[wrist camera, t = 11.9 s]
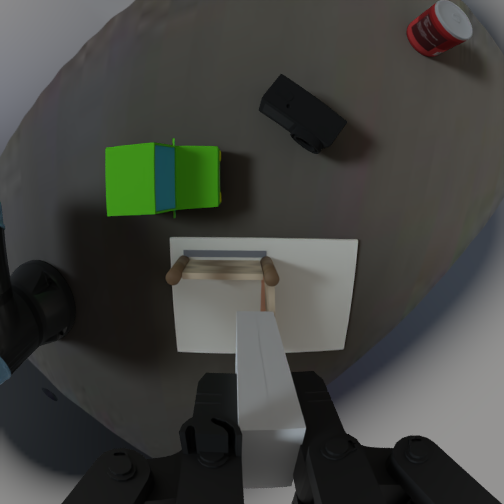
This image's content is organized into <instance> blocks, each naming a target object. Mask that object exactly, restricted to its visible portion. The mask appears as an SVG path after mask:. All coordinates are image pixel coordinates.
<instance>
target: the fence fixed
mask: <svg viewBox="0 0 504 504" xmlns="http://www.w3.org/2000/svg"><path fill="white" fill-rule="evenodd" d="M263 277H264V280H265V283H266V284H267V285H268V286H271V287H273V286H276V285H277V284H278V283H279V275H278V273H277V271H276V268H275V266H274V264H273V261H272V259H271V258H270V257H268V256H265V257H263V258H261V260H190V259H189V258H188V257H187V256H184V255H182V256H180V257H179V258H178V260H177V261H176V262H175V264H174V265H173V266H172V268H171V269H170V270H169V272H168V273H167V274H166V281H167V283H168V284H170V285H177V284H178V283H179V281H180V280H181V278H182V279H208V280H263Z"/></svg>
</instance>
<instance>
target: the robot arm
mask: <svg viewBox="0 0 504 504" xmlns="http://www.w3.org/2000/svg"><path fill="white" fill-rule="evenodd" d="M4 230H5V225H4V224H3V216H2V206H1V202H0V384H2V383H3V382H4V381H5V380H7V379H9V378H10V376H11V374H13V372H14V371H15V370H16V369H17V368H18V367H19V366H20V365H21V364H22V363H23V362H24V361H25V360H26V359H27V358H28V357H29V356H30V355H31V354H32V353H33V352H34V351H35V350H36V349H37V348H38V347H39V346H41V345H45V344H48V343H51V342H55V341H57V340H59V339H61V338H63V337H64V336H65V335H66V334H67V333H68V332H69V331H70V329H71V328H72V326H73V324H74V320H75V303H74V299H73V296H72V293H71V290H70V288H69V286H68V284H67V282H66V281H65V279H64V278H63V277H62V275H61V274H60V273H59V272H58V271H57V270H56V269H55V268H54V267H52V266H51V265H49V264H48V263H46V262H43V261H39V260H32V261H28V262H26V263H24V264H22V265H20V266H19V267H18V268H17V269H16V270H15V271H14V272H13V274H12V275H11V276H10V274H9V267H8V260H7V253H6V244H5V234H4ZM235 367H236V374H226V373H206V374H205V375H204V376H203V377H202V378H201V379H200V381H199V382H198V387H197V395H196V400H195V406H194V413H193V417H192V418H190V419H189V420H188V421H186V422H185V423H184V424H183V425H182V427H181V429H180V431H179V435H180V441H181V446H182V450H181V451H179V452H178V453H176V454H174V455H171V456H167V457H161V458H153V459H145V457H144V456H143V455H141V454H140V453H138V452H136V451H134V450H130V449H125V448H120V449H112V450H110V451H107V452H104V453H103V454H102V455H101V456H100V457H98V458H97V460H96V461H95V462H94V463H93V465H92V466H91V467H90V469H89V470H88V471H87V472H86V474H85V475H84V476H83V477H82V479H81V480H80V481H79V482H78V484H77V485H76V486H75V488H74V489H73V490H72V491H71V493H70V494H69V495H68V497H67V498H66V499H65V500H64V501H63V503H62V504H244V499H243V498H244V496H243V488H273V487H287V486H291V485H292V481H293V478H294V483H295V488H296V492H295V495H294V498H293V501H292V504H502V503H500V502H499V501H498V500H497V499H496V498H495V497H493V496H492V495H491V494H490V493H489V492H488V491H487V490H486V489H485V488H484V487H482V486H481V485H480V484H479V483H478V482H477V481H476V480H475V479H474V478H473V477H471V476H470V475H469V474H468V473H467V472H466V471H465V470H464V469H462V467H460V466H459V465H458V464H457V463H456V462H455V461H454V460H453V459H452V458H451V457H449V456H448V455H447V454H446V453H445V452H444V451H443V450H442V449H441V448H440V447H438V445H436V444H435V443H434V442H433V441H431V440H430V439H428V438H426V437H422V436H407V437H404V438H402V439H401V440H399V441H398V442H397V443H396V444H395V446H394V448H374V447H366V446H363V445H361V444H360V443H359V442H358V441H357V439H356V438H354V437H352V436H351V435H349V434H346V432H345V431H344V429H343V426H342V424H341V421H340V419H339V416H338V414H337V412H336V409H335V407H334V404H333V402H332V401H331V397H330V395H329V393H328V392H327V388H326V385H325V383H324V381H323V379H322V378H321V377H319V376H318V375H317V374H316V373H315V372H314V371H307V372H290V369H289V365H288V362H287V358H286V355H285V351H284V348H283V344H282V340H281V337H280V333H279V330H278V326H277V323H276V319H275V316H274V312H270V311H237V315H236V365H235Z"/></svg>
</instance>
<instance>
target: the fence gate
mask: <svg viewBox="0 0 504 504" xmlns="http://www.w3.org/2000/svg"><path fill="white" fill-rule="evenodd" d="M264 284H265V311H270V312H274V316H275V286H273V287H271V286H268V285H267V284H266V283H265V280H264Z"/></svg>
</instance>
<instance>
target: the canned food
mask: <svg viewBox="0 0 504 504" xmlns="http://www.w3.org/2000/svg"><path fill="white" fill-rule="evenodd" d="M472 34H473V30H472V26H471V23H470V21H469V19H468V17H467V16H466V15H465V13H464V12H463V11H462V10H461V9H460V8H459V7H458V6H457V5H455V4H454V3H452V2H450V1H447V0H440V1H438V2H437V3H435V4H434V5H433V6H431V7H430V8H429V9H427V10H426V11H425V12H424V13H422V14H421V15H420V16H419V17H417V18H416V19H415V20H414V21H412V22H411V23H410V24H409V26H408V28H407V37H408V40H409V42H410V44H411V45H412V46H413V47H414V49H415V50H417V51H418V52H419V53H421V54H422V55H424V56H428V57H433V56H437V55H439V54H441V53H443V52H445V51H447V50H449V49H451V48H452V47H454V46H456V45H458V44H461V43H463V42H464V41H466V40H468V39H469V38H471V37H472Z"/></svg>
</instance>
